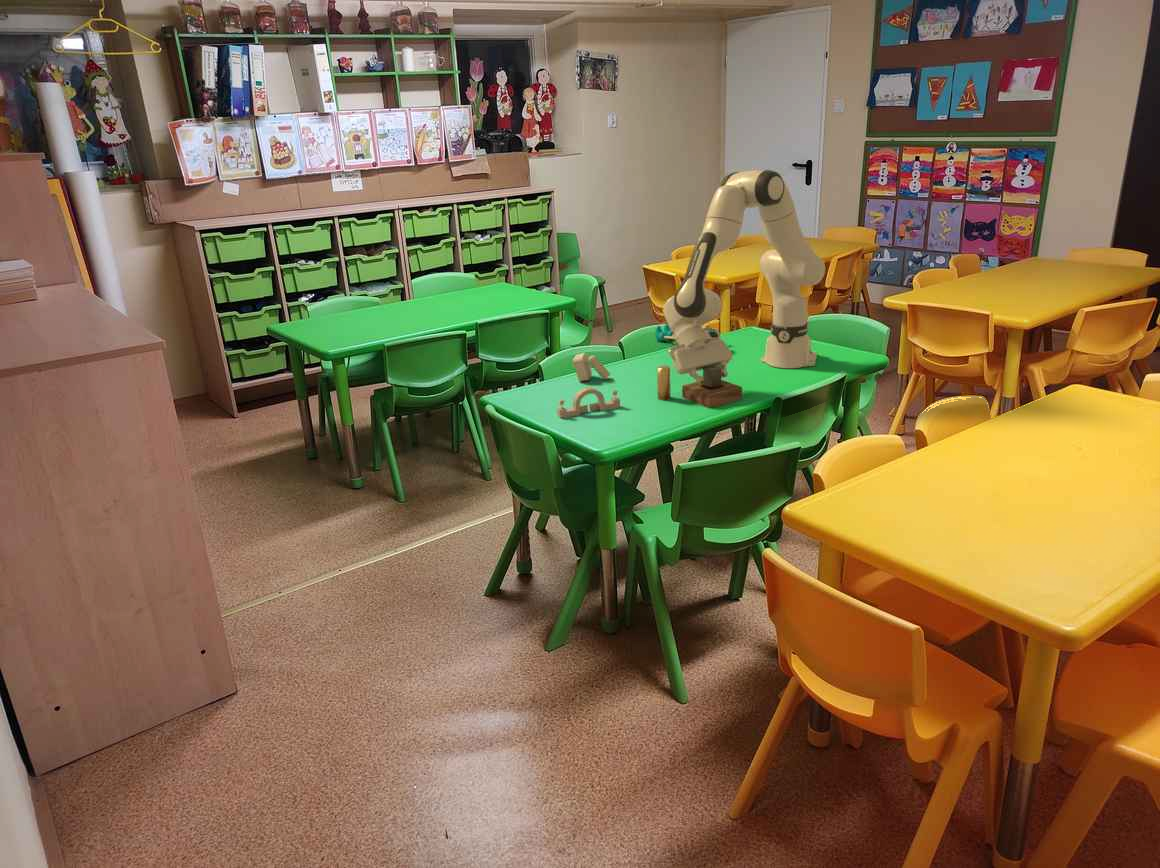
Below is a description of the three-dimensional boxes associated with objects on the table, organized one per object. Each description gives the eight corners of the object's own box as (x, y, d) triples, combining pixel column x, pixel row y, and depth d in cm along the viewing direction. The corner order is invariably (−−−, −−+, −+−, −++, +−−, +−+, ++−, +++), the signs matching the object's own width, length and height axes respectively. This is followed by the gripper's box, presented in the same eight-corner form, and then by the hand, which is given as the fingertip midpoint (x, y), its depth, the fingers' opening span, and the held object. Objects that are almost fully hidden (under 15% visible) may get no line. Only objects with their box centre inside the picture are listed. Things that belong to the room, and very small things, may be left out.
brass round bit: (660, 395, 257) (660, 365, 253) (672, 396, 255) (672, 366, 251) (655, 399, 254) (655, 368, 250) (667, 400, 252) (667, 369, 248)
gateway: (617, 406, 250) (616, 382, 247) (620, 409, 248) (619, 384, 245) (557, 417, 244) (556, 392, 241) (560, 420, 242) (558, 394, 239)
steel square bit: (702, 398, 252) (703, 367, 249) (712, 395, 254) (713, 364, 251) (711, 401, 249) (711, 370, 246) (721, 398, 251) (721, 367, 247)
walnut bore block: (682, 397, 254) (682, 385, 253) (714, 389, 260) (714, 377, 258) (708, 408, 243) (708, 395, 242) (741, 399, 249) (742, 386, 248)
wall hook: (609, 381, 272) (601, 353, 269) (580, 388, 275) (572, 360, 271) (612, 374, 279) (604, 346, 276) (584, 380, 282) (576, 354, 279)
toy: (682, 320, 326) (733, 321, 301) (684, 344, 328) (735, 348, 303) (638, 329, 315) (687, 332, 290) (641, 354, 317) (690, 359, 292)
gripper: (671, 342, 246) (691, 380, 241) (723, 331, 255) (743, 367, 251) (662, 353, 251) (682, 391, 247) (714, 342, 261) (733, 378, 256)
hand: (713, 379), depth 249 cm, fingers open, 8 cm apart
